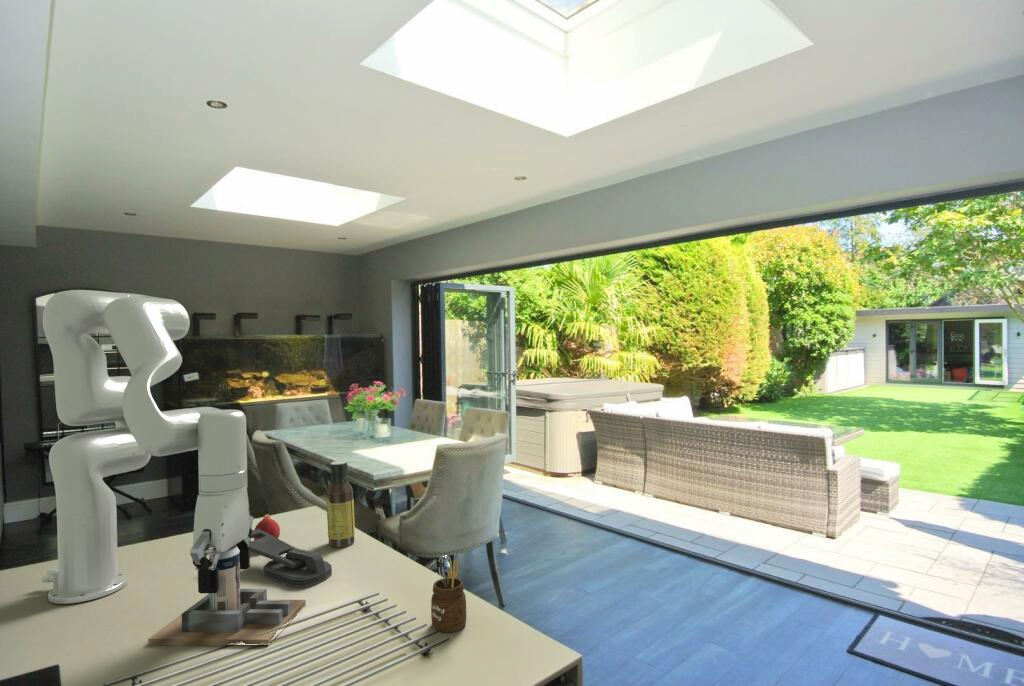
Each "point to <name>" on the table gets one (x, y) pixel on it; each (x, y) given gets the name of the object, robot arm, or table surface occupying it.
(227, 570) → the beer can
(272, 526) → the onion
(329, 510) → the sauce bottle
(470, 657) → the table surface
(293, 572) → the zipper pull
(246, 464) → the robot arm
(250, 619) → the keyhole board
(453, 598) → the utensil holder
